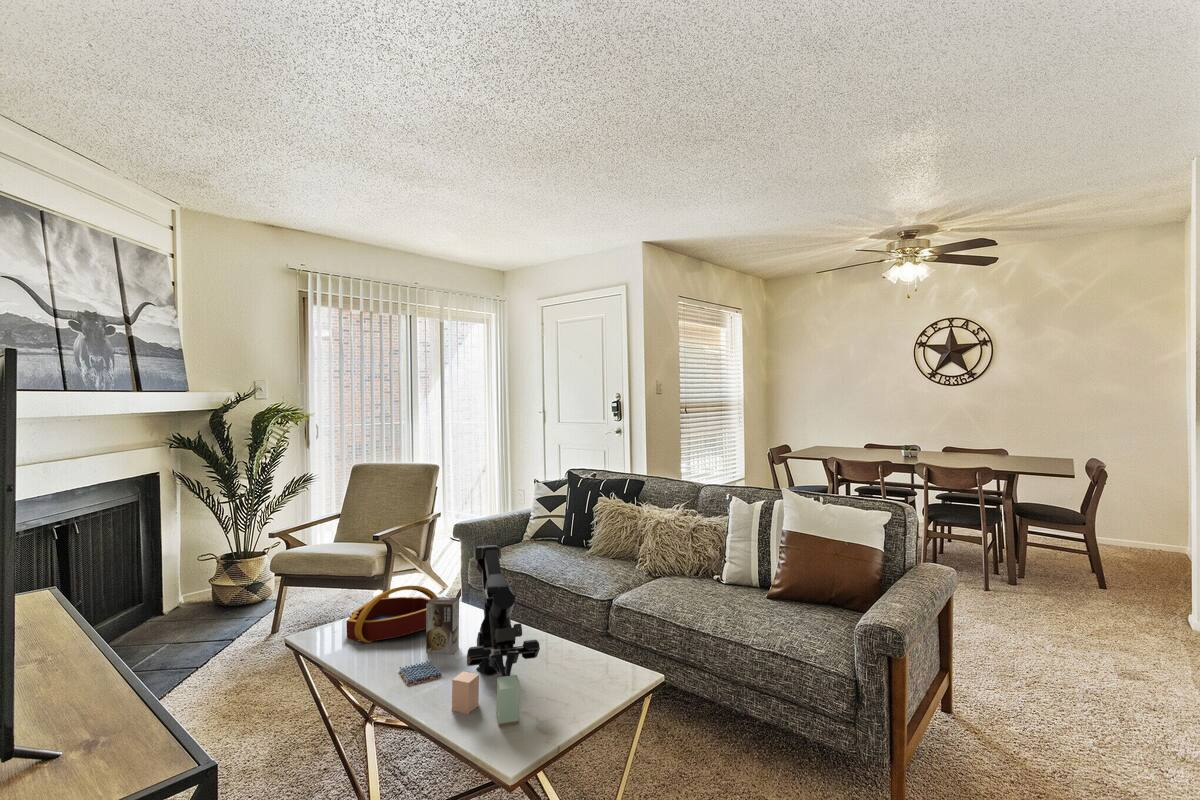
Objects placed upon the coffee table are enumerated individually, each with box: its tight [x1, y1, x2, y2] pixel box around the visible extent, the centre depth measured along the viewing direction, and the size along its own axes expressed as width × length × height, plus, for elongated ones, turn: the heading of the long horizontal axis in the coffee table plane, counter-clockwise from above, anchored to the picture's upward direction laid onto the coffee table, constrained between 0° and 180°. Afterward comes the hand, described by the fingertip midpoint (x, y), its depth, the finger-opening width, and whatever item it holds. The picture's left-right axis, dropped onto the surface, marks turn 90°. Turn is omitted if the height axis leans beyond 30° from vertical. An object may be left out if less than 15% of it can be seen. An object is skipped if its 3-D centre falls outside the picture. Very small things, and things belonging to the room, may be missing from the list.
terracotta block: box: [451, 671, 480, 715], centre depth 152 cm, size 5×5×8 cm
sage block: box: [495, 674, 521, 727], centre depth 145 cm, size 5×5×10 cm
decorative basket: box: [345, 585, 438, 644], centre depth 206 cm, size 34×29×15 cm
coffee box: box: [425, 596, 460, 655], centre depth 188 cm, size 9×6×16 cm
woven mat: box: [398, 660, 443, 687], centre depth 170 cm, size 10×11×2 cm
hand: (506, 685), depth 148 cm, fingers closed, pressing on sage block
